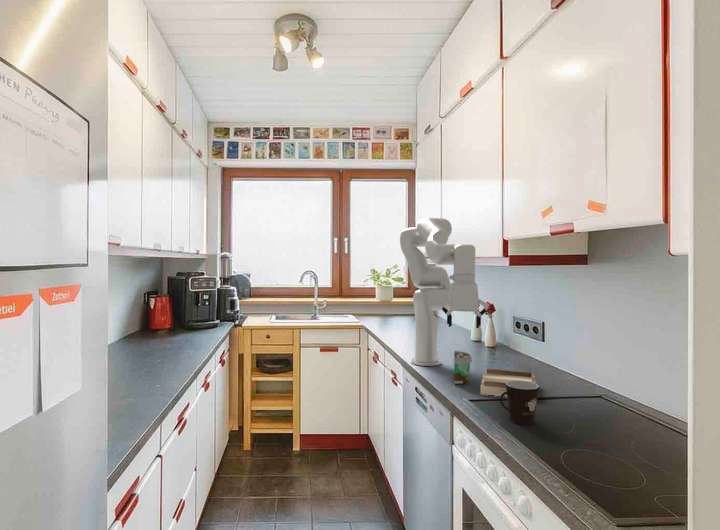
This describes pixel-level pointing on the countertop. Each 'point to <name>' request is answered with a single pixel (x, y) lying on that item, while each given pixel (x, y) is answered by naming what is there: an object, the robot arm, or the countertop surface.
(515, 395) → the coffee mug
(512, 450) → the countertop surface
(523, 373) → the dock
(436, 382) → the countertop surface
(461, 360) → the food container
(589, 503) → the countertop surface
